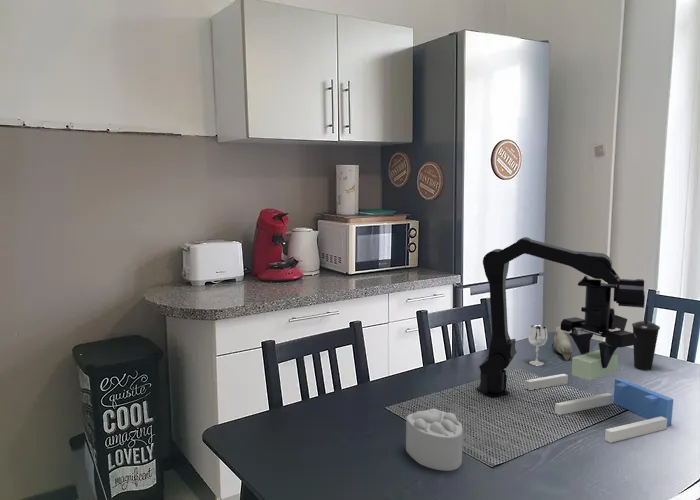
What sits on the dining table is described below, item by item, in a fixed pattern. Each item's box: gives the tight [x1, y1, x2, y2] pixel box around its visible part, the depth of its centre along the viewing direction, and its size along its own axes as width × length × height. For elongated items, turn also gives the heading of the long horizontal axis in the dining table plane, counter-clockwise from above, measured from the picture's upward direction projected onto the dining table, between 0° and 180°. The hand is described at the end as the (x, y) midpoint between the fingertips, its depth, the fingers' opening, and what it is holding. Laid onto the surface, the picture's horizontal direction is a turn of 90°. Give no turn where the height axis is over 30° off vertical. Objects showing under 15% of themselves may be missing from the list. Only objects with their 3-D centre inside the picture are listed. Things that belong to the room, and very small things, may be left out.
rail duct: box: [525, 373, 674, 444], centre depth 140 cm, size 21×32×6 cm, turn 23°
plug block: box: [571, 349, 619, 381], centre depth 137 cm, size 12×5×4 cm, turn 124°
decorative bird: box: [551, 325, 573, 362], centre depth 183 cm, size 5×16×8 cm, turn 169°
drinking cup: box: [631, 304, 661, 371], centre depth 169 cm, size 8×8×20 cm
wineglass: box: [527, 324, 548, 367], centre depth 173 cm, size 6×6×12 cm
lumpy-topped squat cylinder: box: [405, 408, 464, 472], centre depth 115 cm, size 10×13×9 cm
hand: (595, 364), depth 137 cm, fingers closed on plug block, 5 cm apart
